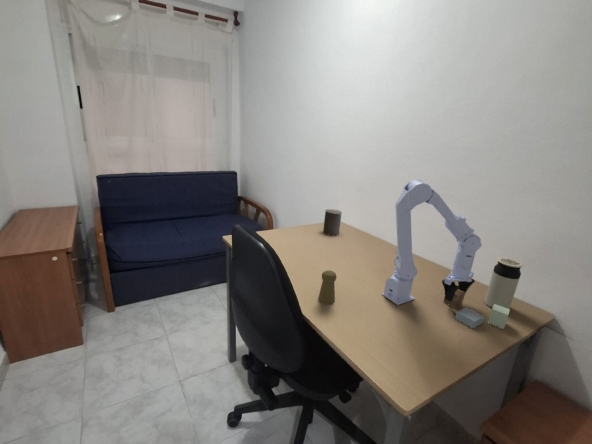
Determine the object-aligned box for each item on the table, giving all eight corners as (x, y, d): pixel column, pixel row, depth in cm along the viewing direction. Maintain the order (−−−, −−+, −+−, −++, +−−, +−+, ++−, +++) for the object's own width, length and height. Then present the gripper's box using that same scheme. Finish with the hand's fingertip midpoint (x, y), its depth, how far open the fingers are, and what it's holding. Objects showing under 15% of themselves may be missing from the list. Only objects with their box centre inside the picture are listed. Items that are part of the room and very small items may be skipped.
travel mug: (509, 314, 104) (525, 268, 99) (484, 306, 108) (497, 262, 103) (508, 304, 111) (522, 261, 106) (484, 297, 115) (496, 255, 110)
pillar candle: (322, 234, 173) (325, 210, 168) (323, 229, 182) (326, 206, 178) (338, 236, 172) (342, 212, 167) (339, 231, 181) (342, 208, 176)
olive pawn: (324, 305, 102) (327, 277, 99) (315, 296, 107) (317, 269, 104) (338, 302, 105) (341, 274, 102) (328, 293, 110) (331, 267, 107)
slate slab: (472, 329, 95) (474, 321, 94) (454, 319, 100) (456, 311, 99) (482, 324, 98) (484, 316, 97) (464, 314, 103) (466, 307, 102)
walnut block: (454, 308, 106) (458, 295, 104) (443, 302, 110) (446, 289, 108) (461, 305, 108) (465, 292, 106) (450, 299, 112) (453, 286, 110)
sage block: (503, 329, 96) (508, 315, 94) (487, 323, 99) (492, 309, 97) (505, 323, 99) (509, 309, 98) (489, 317, 102) (494, 303, 100)
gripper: (461, 272, 97) (452, 308, 101) (485, 265, 104) (476, 298, 108) (442, 264, 103) (434, 297, 107) (466, 257, 110) (458, 289, 114)
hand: (454, 297), depth 108 cm, fingers open, 7 cm apart
